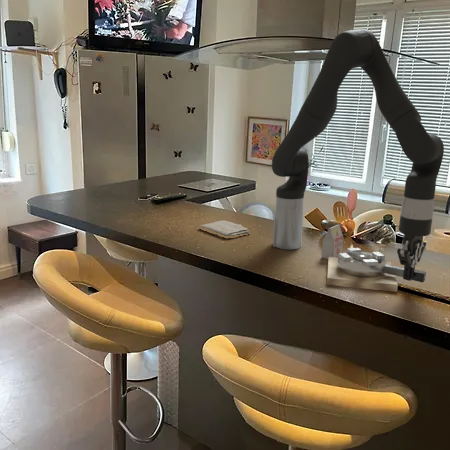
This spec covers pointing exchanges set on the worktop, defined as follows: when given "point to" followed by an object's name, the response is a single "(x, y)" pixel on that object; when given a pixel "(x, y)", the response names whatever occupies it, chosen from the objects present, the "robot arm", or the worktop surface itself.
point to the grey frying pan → (370, 265)
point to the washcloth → (226, 228)
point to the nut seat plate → (359, 279)
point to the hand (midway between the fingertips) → (407, 279)
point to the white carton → (332, 242)
